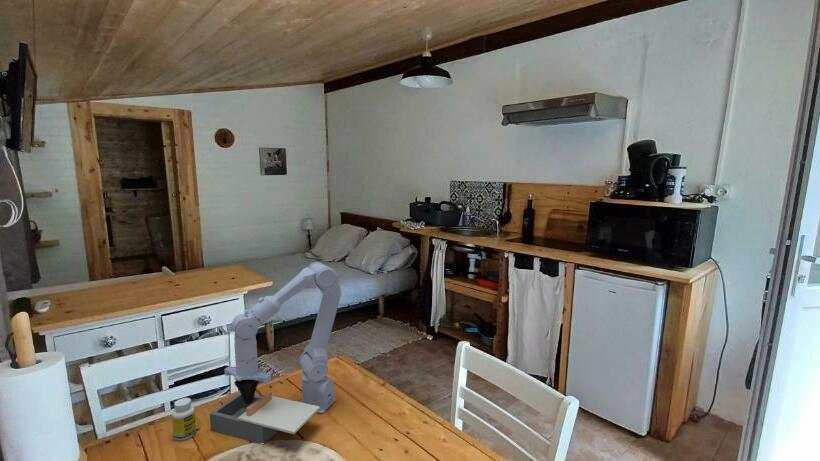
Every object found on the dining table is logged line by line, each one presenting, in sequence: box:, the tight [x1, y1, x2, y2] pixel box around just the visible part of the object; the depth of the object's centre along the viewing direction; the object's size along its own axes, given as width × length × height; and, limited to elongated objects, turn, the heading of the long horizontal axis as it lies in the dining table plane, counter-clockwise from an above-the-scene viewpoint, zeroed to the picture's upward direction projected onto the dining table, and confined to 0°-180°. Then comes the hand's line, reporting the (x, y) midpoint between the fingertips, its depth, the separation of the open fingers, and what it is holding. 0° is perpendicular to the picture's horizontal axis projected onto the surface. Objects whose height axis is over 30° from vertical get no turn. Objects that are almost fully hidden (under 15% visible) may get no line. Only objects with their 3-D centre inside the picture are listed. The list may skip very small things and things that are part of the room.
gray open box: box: [209, 392, 280, 444], centre depth 115 cm, size 18×12×5 cm, turn 70°
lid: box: [238, 391, 320, 435], centre depth 111 cm, size 18×12×3 cm, turn 70°
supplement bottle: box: [171, 397, 197, 441], centre depth 110 cm, size 5×5×10 cm
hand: (249, 402), depth 114 cm, fingers closed
